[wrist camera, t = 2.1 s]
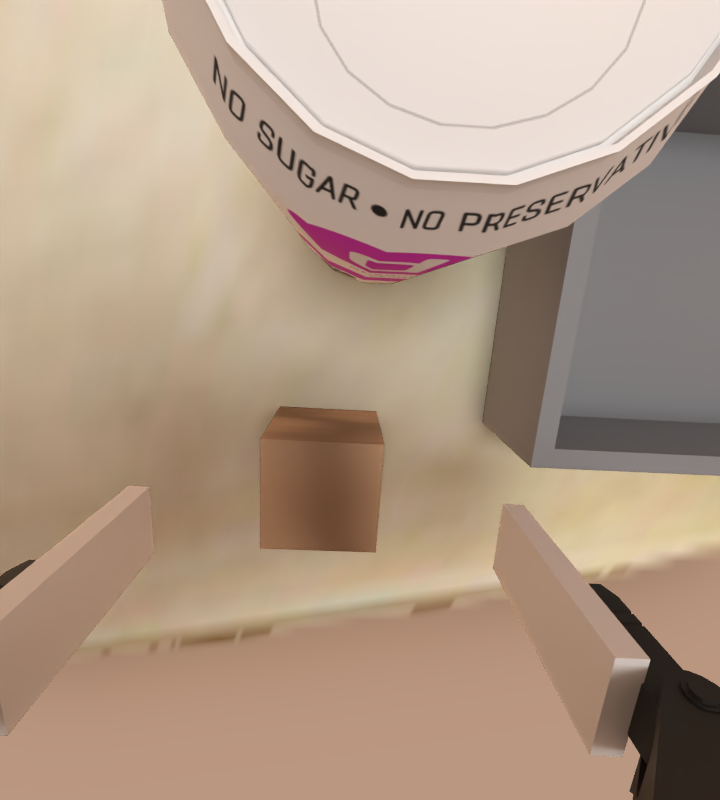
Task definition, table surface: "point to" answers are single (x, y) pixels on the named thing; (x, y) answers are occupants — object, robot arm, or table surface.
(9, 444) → the table surface
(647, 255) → the tote
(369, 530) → the walnut cube
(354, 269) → the supplement can
